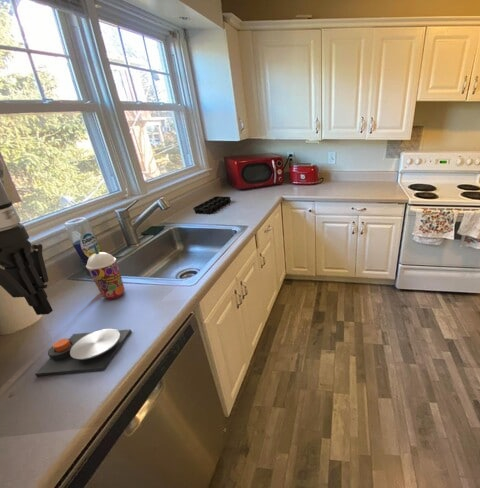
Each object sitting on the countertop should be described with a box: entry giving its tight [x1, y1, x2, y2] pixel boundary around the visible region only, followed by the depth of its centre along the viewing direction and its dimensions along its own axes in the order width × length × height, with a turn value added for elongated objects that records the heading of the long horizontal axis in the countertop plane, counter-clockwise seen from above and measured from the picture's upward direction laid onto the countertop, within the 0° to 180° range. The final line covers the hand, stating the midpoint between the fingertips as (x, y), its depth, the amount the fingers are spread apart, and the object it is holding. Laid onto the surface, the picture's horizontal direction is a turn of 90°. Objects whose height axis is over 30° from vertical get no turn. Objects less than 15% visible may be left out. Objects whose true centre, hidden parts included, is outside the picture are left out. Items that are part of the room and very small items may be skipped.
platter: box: [70, 328, 120, 360], centre depth 77 cm, size 11×11×1 cm
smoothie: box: [85, 245, 126, 300], centre depth 98 cm, size 8×8×20 cm
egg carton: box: [192, 195, 231, 215], centre depth 193 cm, size 18×30×4 cm, turn 1°
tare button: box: [52, 338, 71, 352], centre depth 76 cm, size 3×3×2 cm
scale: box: [34, 329, 132, 378], centre depth 77 cm, size 17×14×3 cm
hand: (44, 312), depth 71 cm, fingers closed
